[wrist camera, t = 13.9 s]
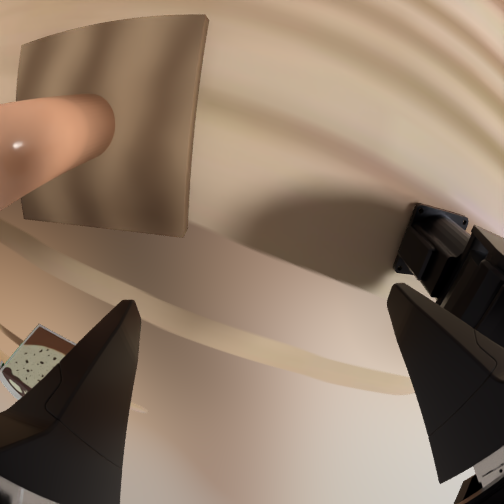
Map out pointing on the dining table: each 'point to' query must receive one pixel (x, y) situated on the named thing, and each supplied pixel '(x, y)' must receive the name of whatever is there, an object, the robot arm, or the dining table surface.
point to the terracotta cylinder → (49, 139)
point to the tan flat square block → (123, 120)
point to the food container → (33, 360)
